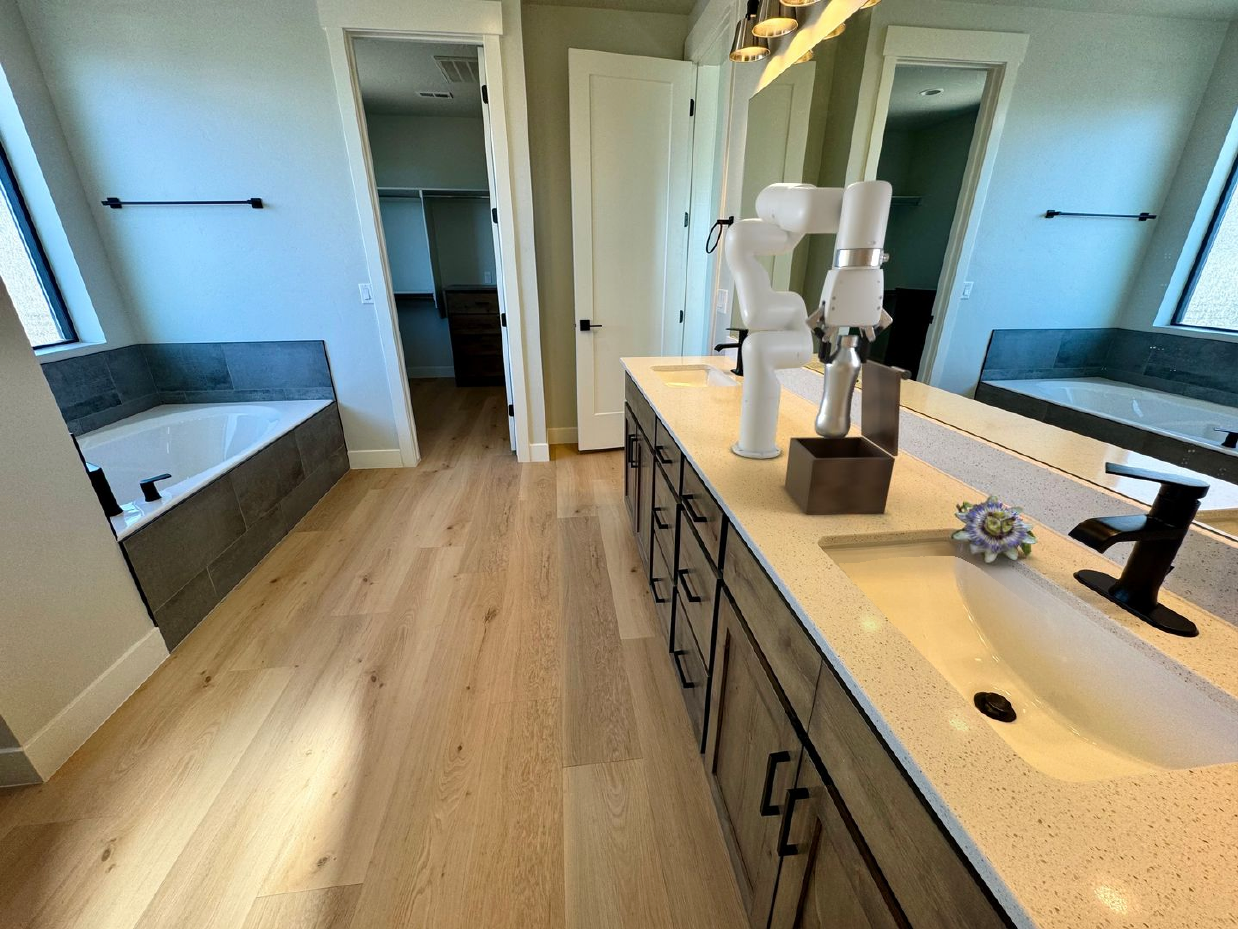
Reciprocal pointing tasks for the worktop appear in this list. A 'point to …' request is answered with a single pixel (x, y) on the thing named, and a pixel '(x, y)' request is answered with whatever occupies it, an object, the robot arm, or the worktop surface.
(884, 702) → the worktop surface
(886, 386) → the lid
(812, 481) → the chest
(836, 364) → the silver metal bottle
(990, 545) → the passion flower
